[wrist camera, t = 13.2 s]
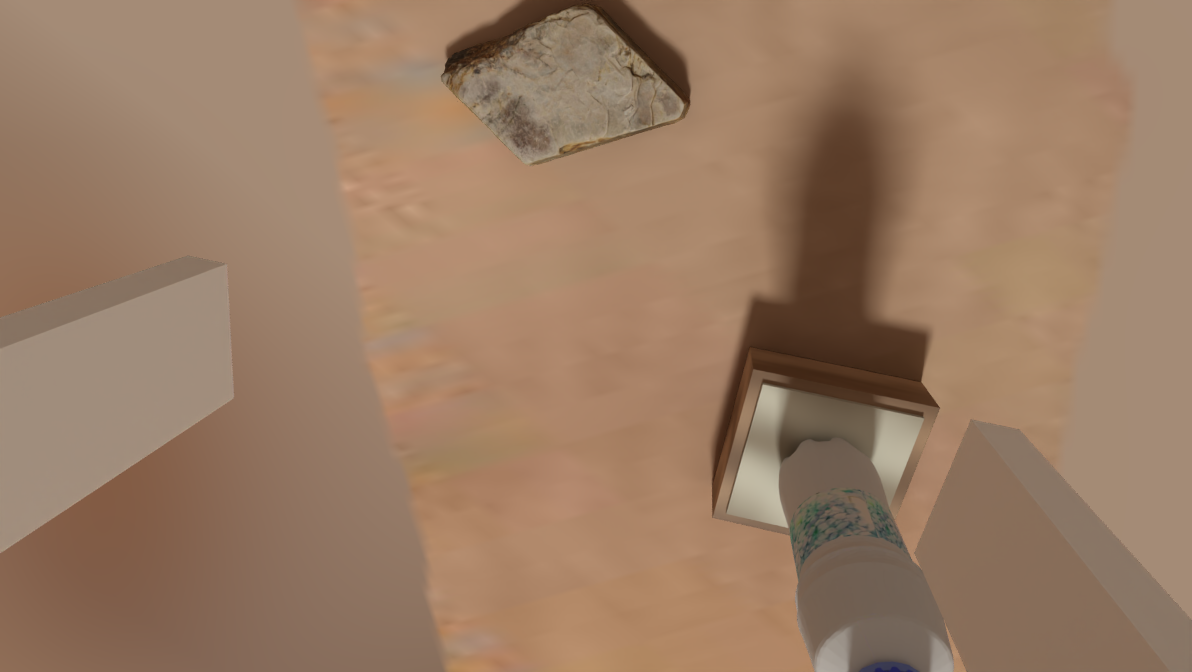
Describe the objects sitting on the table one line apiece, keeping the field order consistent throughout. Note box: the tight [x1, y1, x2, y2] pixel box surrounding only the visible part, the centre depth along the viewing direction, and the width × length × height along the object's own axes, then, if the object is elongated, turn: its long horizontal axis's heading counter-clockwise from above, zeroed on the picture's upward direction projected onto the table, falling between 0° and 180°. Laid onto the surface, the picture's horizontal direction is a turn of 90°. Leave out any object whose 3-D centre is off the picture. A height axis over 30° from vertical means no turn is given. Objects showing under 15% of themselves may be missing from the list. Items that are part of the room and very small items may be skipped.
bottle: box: [779, 437, 954, 672], centre depth 36 cm, size 7×7×20 cm
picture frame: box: [712, 347, 940, 535], centre depth 47 cm, size 12×12×4 cm
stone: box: [441, 4, 690, 166], centre depth 42 cm, size 15×8×3 cm, turn 107°
